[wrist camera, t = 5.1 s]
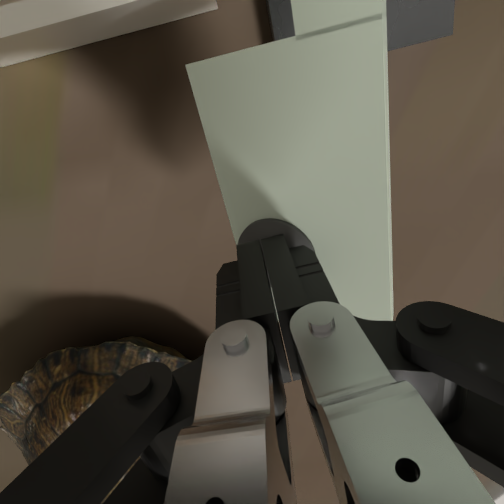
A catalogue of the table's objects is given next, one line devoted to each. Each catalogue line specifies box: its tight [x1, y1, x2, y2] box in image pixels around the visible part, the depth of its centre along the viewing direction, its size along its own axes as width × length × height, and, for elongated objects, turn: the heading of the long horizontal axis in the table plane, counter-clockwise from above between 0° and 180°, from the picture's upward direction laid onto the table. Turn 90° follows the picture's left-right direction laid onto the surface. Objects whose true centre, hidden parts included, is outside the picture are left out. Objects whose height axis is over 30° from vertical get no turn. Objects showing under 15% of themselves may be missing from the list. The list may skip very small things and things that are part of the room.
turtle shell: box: [0, 336, 192, 504], centre depth 23 cm, size 16×9×20 cm
